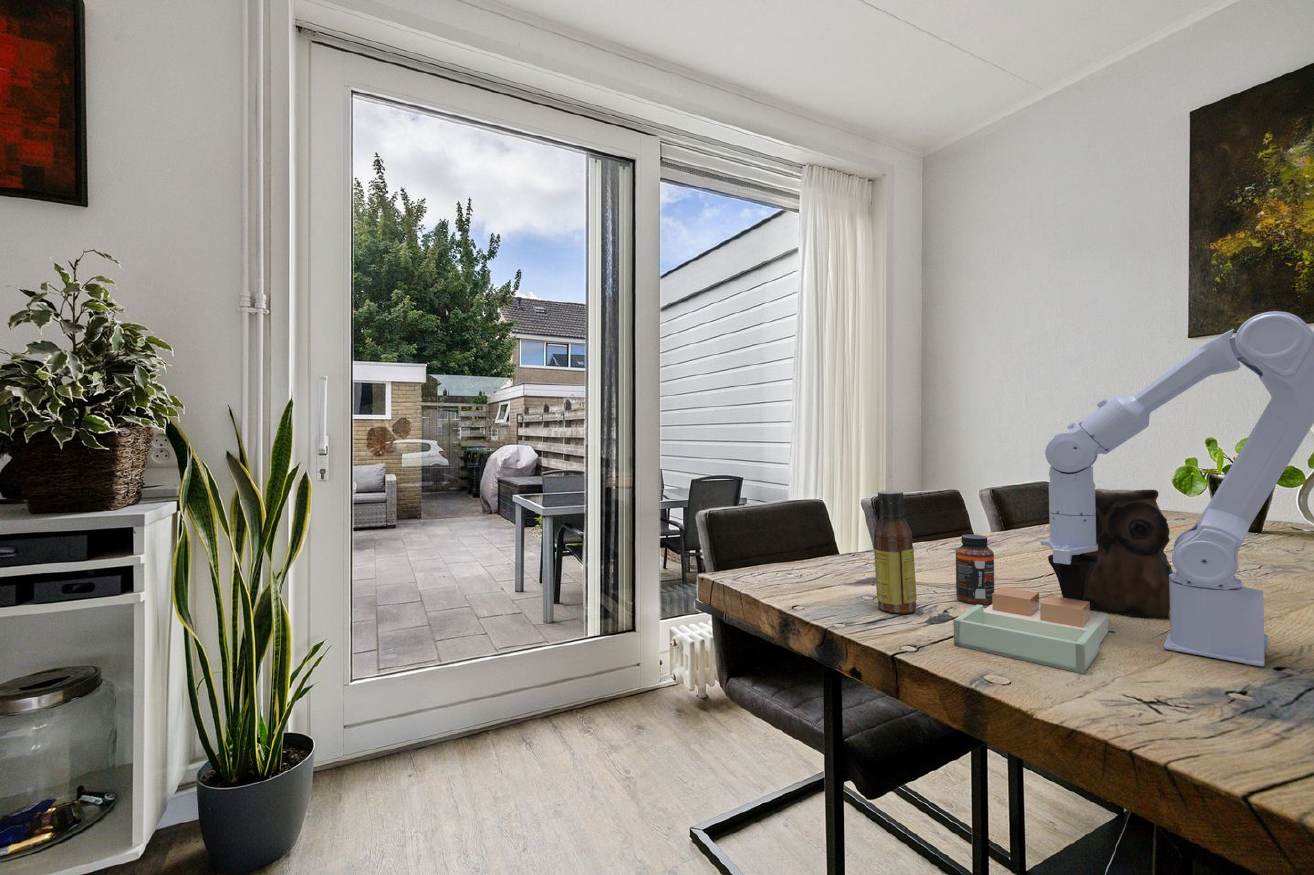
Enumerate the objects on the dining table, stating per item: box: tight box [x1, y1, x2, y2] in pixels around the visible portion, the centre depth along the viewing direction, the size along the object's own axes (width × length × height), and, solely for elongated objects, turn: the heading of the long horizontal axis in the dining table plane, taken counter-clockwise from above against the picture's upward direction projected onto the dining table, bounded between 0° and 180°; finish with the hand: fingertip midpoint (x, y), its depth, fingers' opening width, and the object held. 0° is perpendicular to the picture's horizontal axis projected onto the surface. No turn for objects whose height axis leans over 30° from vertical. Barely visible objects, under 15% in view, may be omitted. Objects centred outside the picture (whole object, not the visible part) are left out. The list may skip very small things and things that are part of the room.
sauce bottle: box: [873, 490, 918, 615], centre depth 101 cm, size 6×6×20 cm
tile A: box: [1039, 595, 1091, 628], centre depth 86 cm, size 5×5×2 cm
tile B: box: [991, 586, 1040, 616], centre depth 91 cm, size 5×5×2 cm
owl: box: [1084, 488, 1174, 620], centre depth 98 cm, size 13×13×20 cm
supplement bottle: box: [955, 534, 995, 605], centre depth 105 cm, size 6×6×11 cm
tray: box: [952, 604, 1100, 675], centre depth 82 cm, size 15×10×4 cm, turn 45°
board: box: [983, 603, 1109, 645], centre depth 89 cm, size 14×10×2 cm
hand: (1073, 604), depth 90 cm, fingers closed
